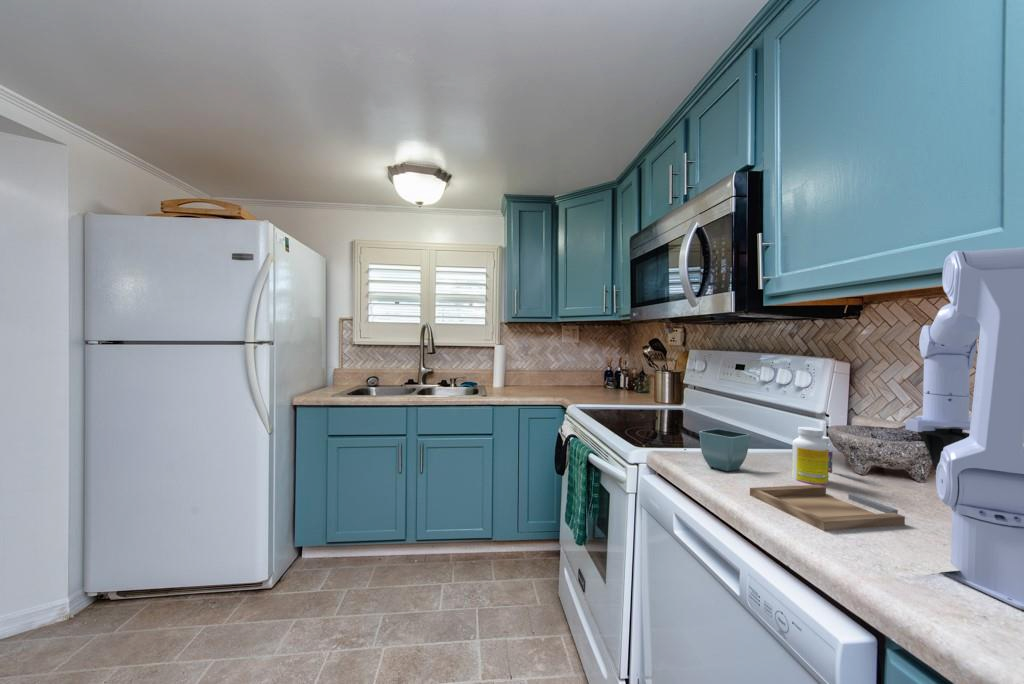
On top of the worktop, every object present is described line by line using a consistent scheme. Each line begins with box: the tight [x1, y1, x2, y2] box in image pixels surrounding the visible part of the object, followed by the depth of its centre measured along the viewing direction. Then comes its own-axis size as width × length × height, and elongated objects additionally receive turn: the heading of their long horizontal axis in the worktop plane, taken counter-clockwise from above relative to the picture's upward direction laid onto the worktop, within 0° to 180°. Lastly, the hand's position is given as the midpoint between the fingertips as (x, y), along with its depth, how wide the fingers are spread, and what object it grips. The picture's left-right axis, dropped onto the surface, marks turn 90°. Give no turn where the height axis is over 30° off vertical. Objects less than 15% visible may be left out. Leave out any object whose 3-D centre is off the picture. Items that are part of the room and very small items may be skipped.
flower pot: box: [698, 428, 751, 472], centre depth 108 cm, size 9×9×9 cm
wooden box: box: [749, 484, 906, 532], centre depth 77 cm, size 16×16×3 cm
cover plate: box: [847, 493, 899, 514], centre depth 80 cm, size 12×12×3 cm
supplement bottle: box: [791, 426, 829, 486], centre depth 95 cm, size 7×7×13 cm
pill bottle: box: [822, 435, 834, 474], centre depth 106 cm, size 5×5×9 cm
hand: (943, 471), depth 75 cm, fingers closed
